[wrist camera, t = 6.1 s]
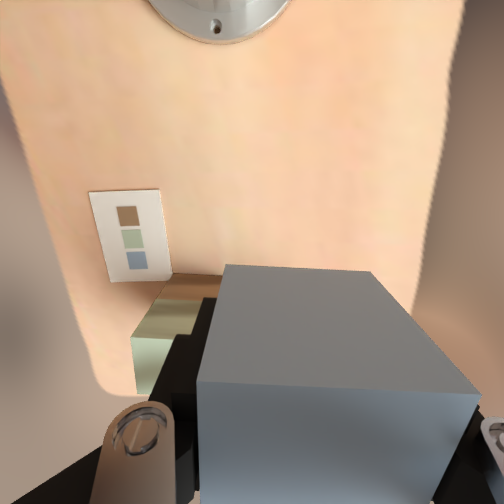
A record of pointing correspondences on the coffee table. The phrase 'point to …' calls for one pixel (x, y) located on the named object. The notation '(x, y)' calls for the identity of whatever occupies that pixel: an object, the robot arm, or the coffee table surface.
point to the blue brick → (323, 393)
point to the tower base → (168, 323)
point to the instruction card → (132, 235)
